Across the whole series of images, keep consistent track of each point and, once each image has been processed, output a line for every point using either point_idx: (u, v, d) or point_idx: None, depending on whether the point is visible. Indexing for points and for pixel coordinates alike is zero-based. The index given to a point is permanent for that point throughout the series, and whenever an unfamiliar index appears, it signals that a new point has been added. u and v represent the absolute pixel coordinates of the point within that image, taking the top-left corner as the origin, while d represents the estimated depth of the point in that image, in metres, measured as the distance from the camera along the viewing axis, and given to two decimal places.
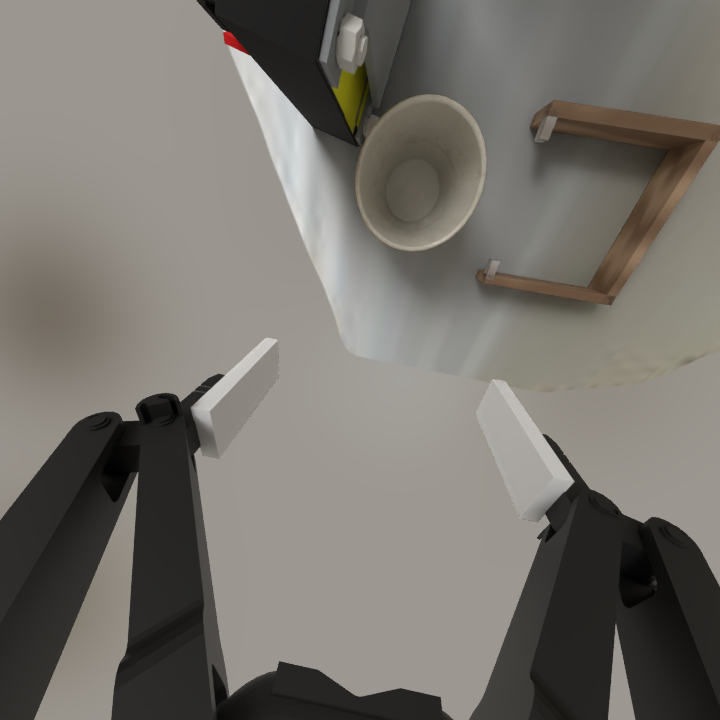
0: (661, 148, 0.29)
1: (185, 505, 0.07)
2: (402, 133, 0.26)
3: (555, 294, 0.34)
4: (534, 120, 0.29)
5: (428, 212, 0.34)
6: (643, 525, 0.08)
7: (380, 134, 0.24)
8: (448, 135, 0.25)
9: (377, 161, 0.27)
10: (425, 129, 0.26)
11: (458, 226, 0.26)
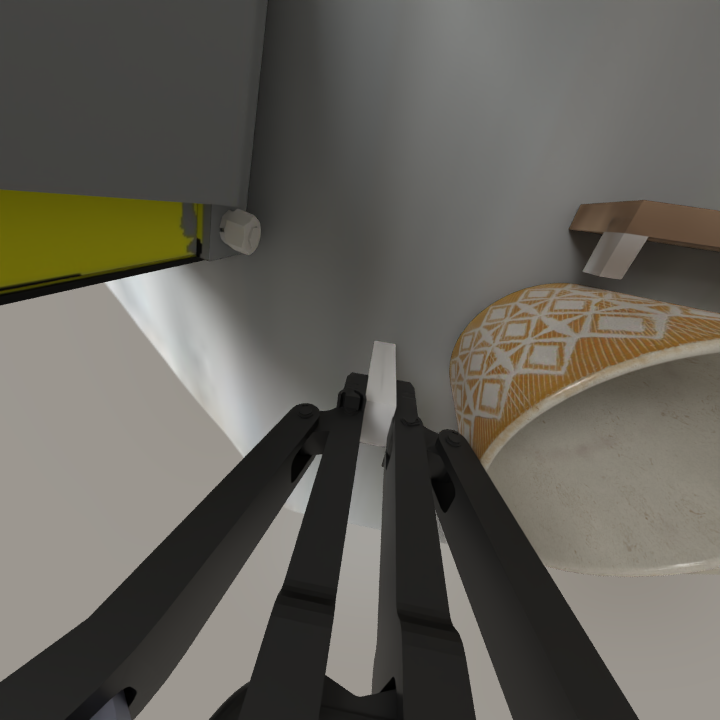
0: None
1: (345, 492, 0.08)
2: None
3: None
4: (580, 217, 0.13)
5: None
6: (437, 442, 0.10)
7: None
8: None
9: None
10: None
11: None
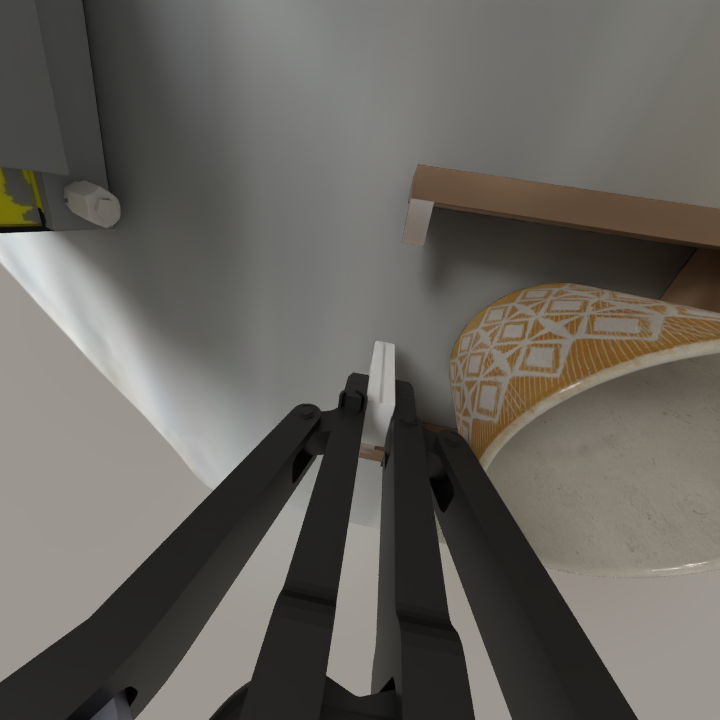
0: (682, 245, 0.14)
1: (346, 493, 0.08)
2: None
3: None
4: None
5: None
6: (435, 441, 0.10)
7: None
8: None
9: None
10: None
11: None
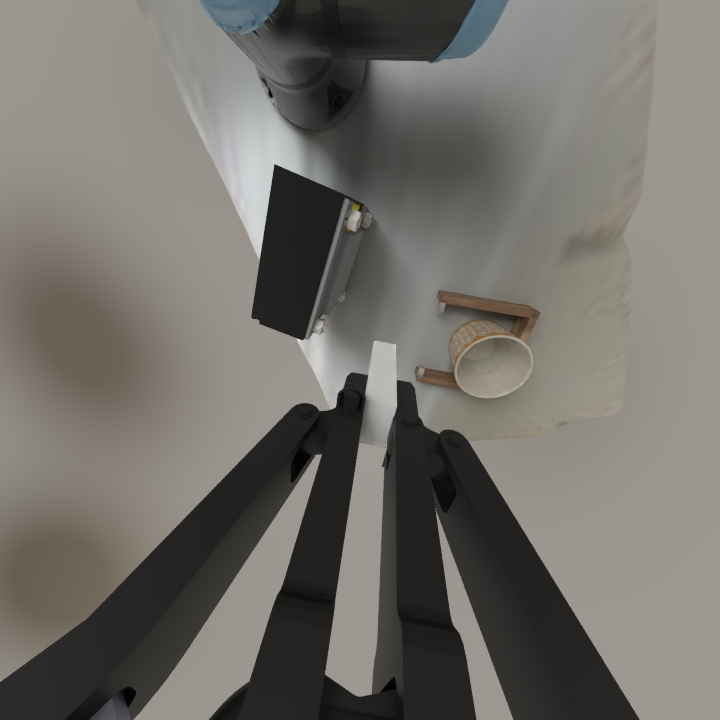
0: None
1: (345, 492, 0.08)
2: None
3: None
4: (438, 294, 0.48)
5: (487, 355, 0.53)
6: (437, 442, 0.10)
7: None
8: (508, 339, 0.44)
9: None
10: None
11: (515, 388, 0.45)
